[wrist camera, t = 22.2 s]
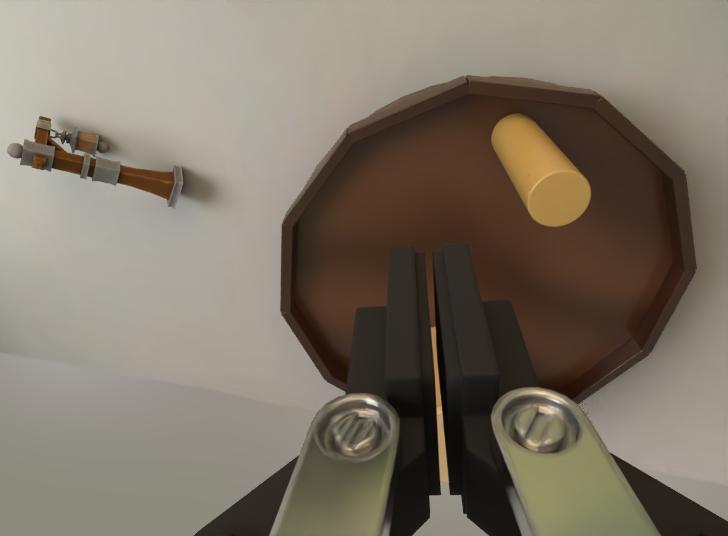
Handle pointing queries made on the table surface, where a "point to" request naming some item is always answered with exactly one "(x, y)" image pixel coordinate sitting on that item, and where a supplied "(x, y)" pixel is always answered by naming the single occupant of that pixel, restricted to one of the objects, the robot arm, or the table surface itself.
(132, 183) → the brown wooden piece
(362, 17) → the table surface
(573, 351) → the tray
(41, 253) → the table surface
